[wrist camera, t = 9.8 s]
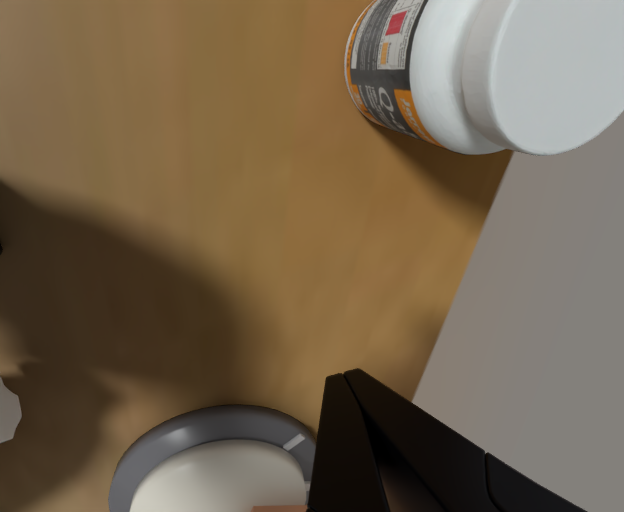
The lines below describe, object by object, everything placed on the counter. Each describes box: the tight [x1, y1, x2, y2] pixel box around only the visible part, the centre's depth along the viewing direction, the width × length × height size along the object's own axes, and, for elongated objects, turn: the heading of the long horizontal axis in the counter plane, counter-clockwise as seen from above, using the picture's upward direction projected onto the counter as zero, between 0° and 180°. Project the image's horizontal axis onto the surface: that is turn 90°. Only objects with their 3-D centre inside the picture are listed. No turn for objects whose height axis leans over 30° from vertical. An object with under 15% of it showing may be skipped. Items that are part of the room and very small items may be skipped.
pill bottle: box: [344, 0, 624, 156], centre depth 13 cm, size 6×6×10 cm
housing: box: [108, 405, 316, 512], centre depth 27 cm, size 15×15×1 cm
